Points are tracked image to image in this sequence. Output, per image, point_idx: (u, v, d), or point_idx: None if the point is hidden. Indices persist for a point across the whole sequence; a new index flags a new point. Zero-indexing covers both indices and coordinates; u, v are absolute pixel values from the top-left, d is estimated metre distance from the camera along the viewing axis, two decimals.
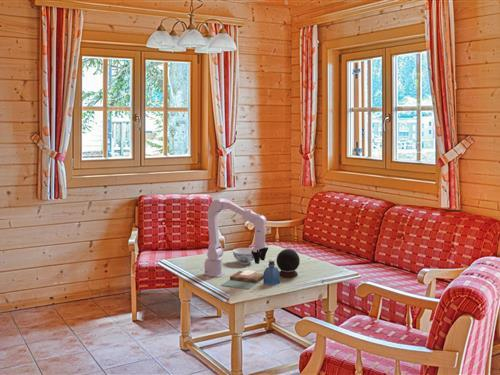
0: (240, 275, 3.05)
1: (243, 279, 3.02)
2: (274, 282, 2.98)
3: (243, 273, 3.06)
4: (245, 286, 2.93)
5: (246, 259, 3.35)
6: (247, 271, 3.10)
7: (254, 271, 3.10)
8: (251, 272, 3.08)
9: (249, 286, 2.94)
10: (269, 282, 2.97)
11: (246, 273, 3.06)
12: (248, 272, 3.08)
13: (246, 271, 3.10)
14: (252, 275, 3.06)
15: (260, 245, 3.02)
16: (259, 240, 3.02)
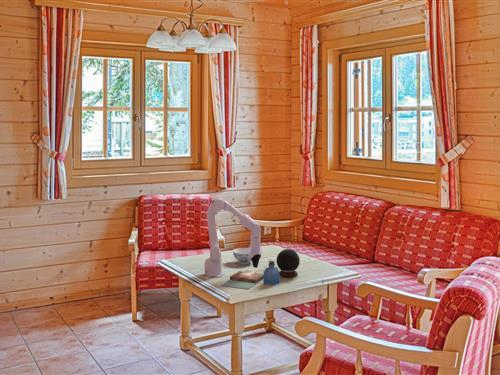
0: (240, 275, 3.05)
1: (243, 279, 3.02)
2: (274, 282, 2.98)
3: (243, 273, 3.06)
4: (245, 286, 2.93)
5: (246, 259, 3.35)
6: (247, 271, 3.10)
7: (254, 271, 3.10)
8: (251, 272, 3.08)
9: (249, 286, 2.94)
10: (269, 282, 2.97)
11: (246, 273, 3.06)
12: (248, 272, 3.08)
13: (246, 271, 3.10)
14: (252, 275, 3.06)
15: (255, 251, 3.14)
16: (254, 246, 3.13)
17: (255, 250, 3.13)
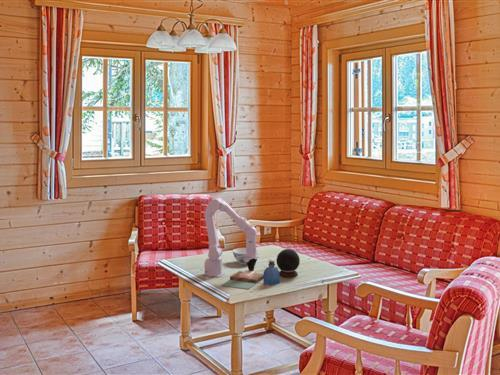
0: (240, 275, 3.04)
1: (243, 279, 3.02)
2: (274, 282, 2.98)
3: (243, 273, 3.06)
4: (245, 286, 2.93)
5: None
6: (247, 271, 3.10)
7: (254, 271, 3.10)
8: (251, 272, 3.08)
9: (249, 286, 2.94)
10: (269, 282, 2.97)
11: (246, 273, 3.05)
12: (248, 272, 3.08)
13: (246, 271, 3.10)
14: (252, 275, 3.06)
15: (251, 255, 3.08)
16: (250, 250, 3.08)
17: (251, 254, 3.08)
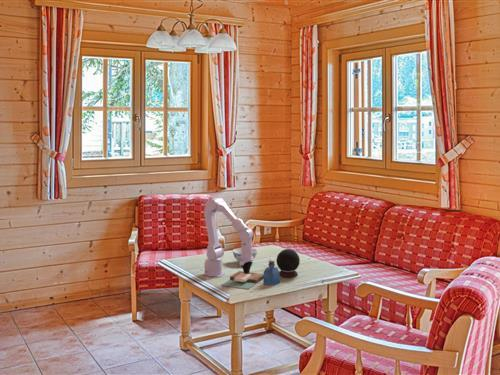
0: (235, 279, 2.98)
1: None
2: (274, 282, 2.98)
3: (238, 277, 3.00)
4: (245, 286, 2.93)
5: None
6: (242, 274, 3.04)
7: (249, 274, 3.04)
8: (246, 275, 3.02)
9: (249, 286, 2.94)
10: (269, 282, 2.97)
11: (241, 277, 3.00)
12: (243, 276, 3.02)
13: (241, 274, 3.04)
14: (247, 278, 3.00)
15: (247, 258, 3.02)
16: (246, 253, 3.02)
17: (246, 257, 3.02)
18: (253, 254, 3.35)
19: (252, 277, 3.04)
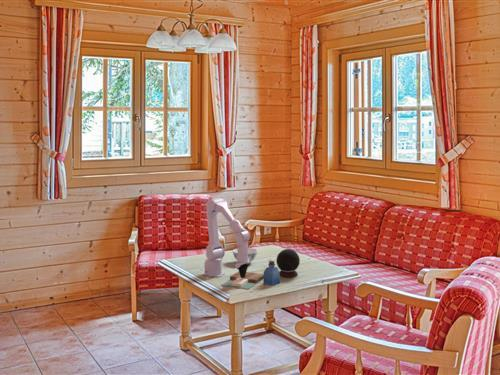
0: (232, 283, 2.95)
1: None
2: (274, 282, 2.98)
3: (235, 281, 2.97)
4: (245, 286, 2.93)
5: None
6: (239, 279, 3.00)
7: (246, 279, 3.00)
8: (243, 280, 2.99)
9: (249, 286, 2.94)
10: (269, 282, 2.97)
11: (238, 282, 2.96)
12: (240, 280, 2.98)
13: (238, 279, 3.00)
14: (244, 283, 2.97)
15: (243, 260, 2.98)
16: (242, 255, 2.97)
17: (242, 259, 2.98)
18: (253, 254, 3.35)
19: (252, 277, 3.04)
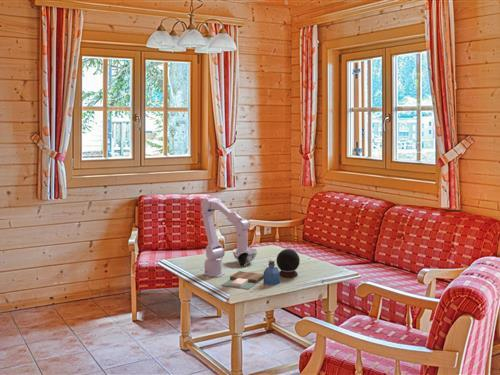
0: (232, 283, 2.95)
1: None
2: (274, 282, 2.98)
3: (235, 281, 2.97)
4: (245, 286, 2.93)
5: (246, 259, 3.35)
6: (239, 279, 3.00)
7: (246, 279, 3.00)
8: (243, 280, 2.99)
9: (249, 286, 2.94)
10: (269, 282, 2.97)
11: (238, 282, 2.96)
12: (240, 280, 2.98)
13: (238, 279, 3.00)
14: (244, 283, 2.97)
15: (242, 249, 2.98)
16: (241, 244, 2.98)
17: (242, 248, 2.98)
18: (253, 254, 3.35)
19: (252, 277, 3.04)
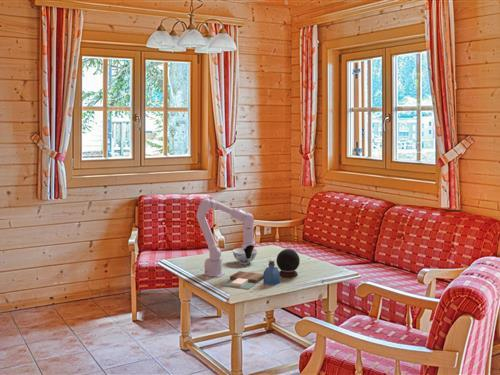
0: (232, 283, 2.95)
1: None
2: (274, 282, 2.98)
3: (235, 281, 2.97)
4: (245, 286, 2.93)
5: (246, 259, 3.35)
6: (239, 279, 3.00)
7: (246, 279, 3.00)
8: (243, 280, 2.99)
9: (249, 286, 2.94)
10: (269, 282, 2.97)
11: (238, 282, 2.96)
12: (240, 280, 2.98)
13: (238, 279, 3.00)
14: (244, 283, 2.97)
15: (248, 242, 3.11)
16: (247, 237, 3.11)
17: (248, 241, 3.11)
18: (253, 254, 3.35)
19: (252, 277, 3.04)
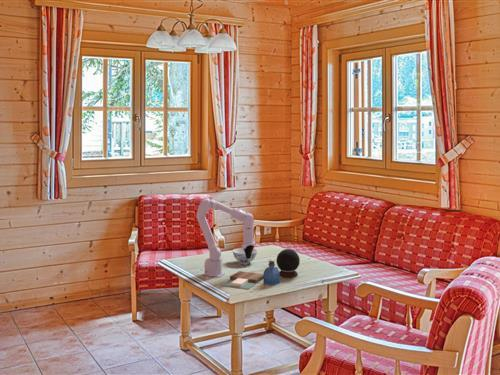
0: (232, 283, 2.95)
1: None
2: (274, 282, 2.98)
3: (235, 281, 2.97)
4: (245, 286, 2.93)
5: (246, 259, 3.35)
6: (239, 279, 3.00)
7: (246, 279, 3.00)
8: (243, 280, 2.99)
9: (249, 286, 2.94)
10: (269, 282, 2.97)
11: (238, 282, 2.96)
12: (240, 280, 2.98)
13: (238, 279, 3.00)
14: (244, 283, 2.97)
15: (248, 242, 3.11)
16: (247, 237, 3.11)
17: (248, 241, 3.11)
18: (253, 254, 3.35)
19: (252, 277, 3.04)
